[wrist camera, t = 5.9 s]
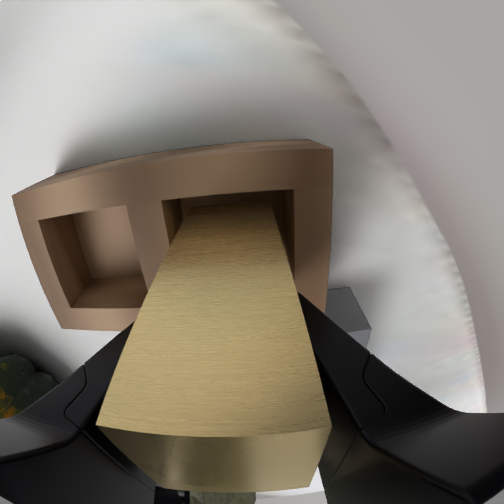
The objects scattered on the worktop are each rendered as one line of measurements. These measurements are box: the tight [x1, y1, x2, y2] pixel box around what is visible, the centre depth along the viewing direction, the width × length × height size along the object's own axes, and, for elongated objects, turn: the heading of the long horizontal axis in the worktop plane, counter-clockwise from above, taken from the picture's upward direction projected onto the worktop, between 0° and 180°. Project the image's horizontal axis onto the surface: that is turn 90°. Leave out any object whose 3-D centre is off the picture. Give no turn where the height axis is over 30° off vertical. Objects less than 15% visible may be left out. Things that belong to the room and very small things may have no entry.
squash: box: [0, 350, 58, 419], centre depth 17 cm, size 14×15×15 cm
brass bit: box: [96, 200, 332, 493], centre depth 8 cm, size 3×3×10 cm
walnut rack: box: [12, 140, 333, 331], centre depth 13 cm, size 14×8×4 cm, turn 94°
